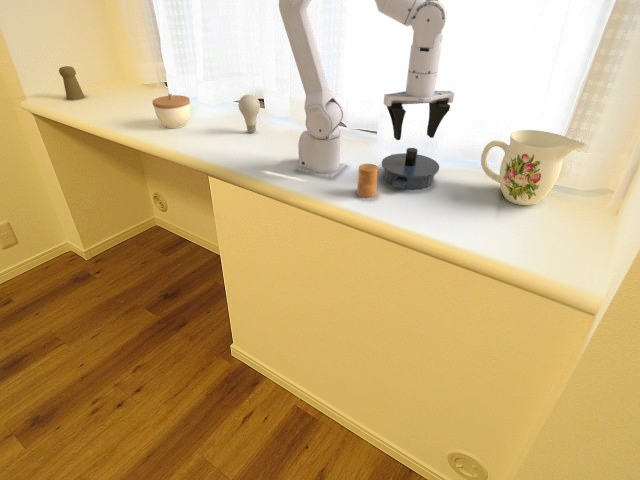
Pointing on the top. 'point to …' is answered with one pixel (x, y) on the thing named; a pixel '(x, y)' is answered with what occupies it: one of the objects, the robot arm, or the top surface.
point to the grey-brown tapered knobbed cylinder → (71, 83)
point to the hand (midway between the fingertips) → (413, 137)
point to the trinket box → (172, 110)
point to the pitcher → (529, 164)
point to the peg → (367, 180)
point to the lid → (410, 165)
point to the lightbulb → (249, 111)
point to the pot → (408, 181)
